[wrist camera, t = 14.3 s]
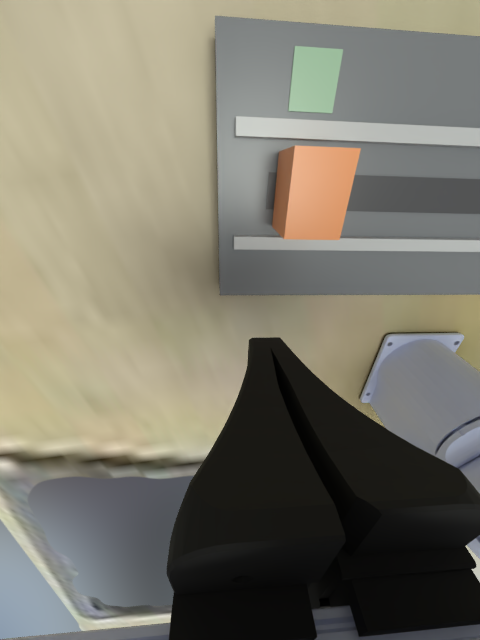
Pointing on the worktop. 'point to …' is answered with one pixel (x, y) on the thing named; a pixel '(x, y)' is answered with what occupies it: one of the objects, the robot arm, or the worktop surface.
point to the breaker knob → (313, 191)
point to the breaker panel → (373, 164)
